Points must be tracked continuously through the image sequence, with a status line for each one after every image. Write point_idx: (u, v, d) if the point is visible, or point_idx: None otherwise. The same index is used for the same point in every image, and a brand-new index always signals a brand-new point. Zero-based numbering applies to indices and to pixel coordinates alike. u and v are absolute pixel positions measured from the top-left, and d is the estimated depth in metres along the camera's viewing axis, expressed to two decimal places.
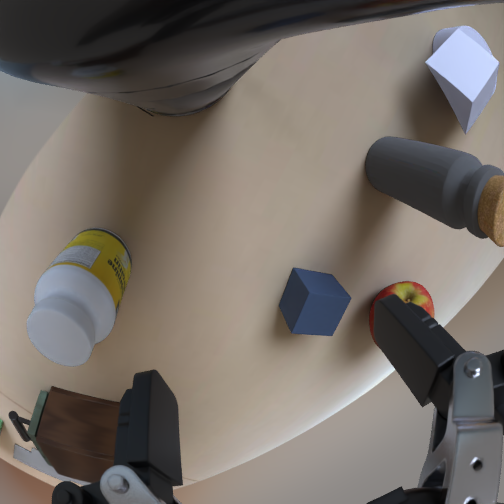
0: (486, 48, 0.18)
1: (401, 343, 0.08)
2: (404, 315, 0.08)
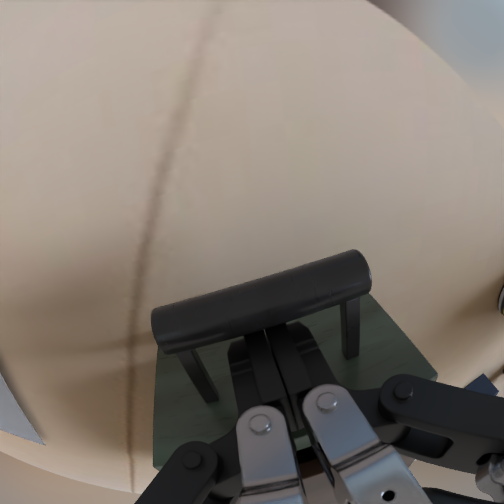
0: None
1: (276, 363, 0.09)
2: (278, 336, 0.09)
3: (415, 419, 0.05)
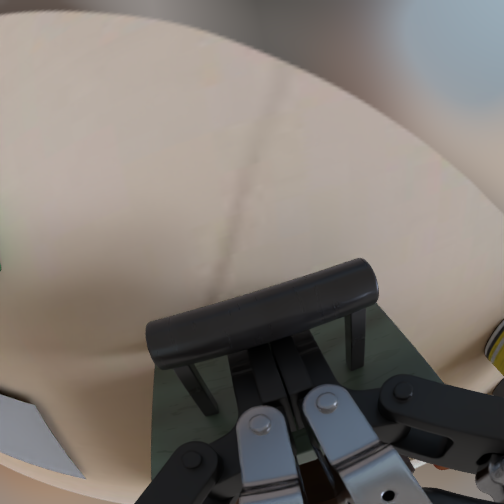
0: None
1: (276, 363, 0.09)
2: None
3: (415, 419, 0.05)
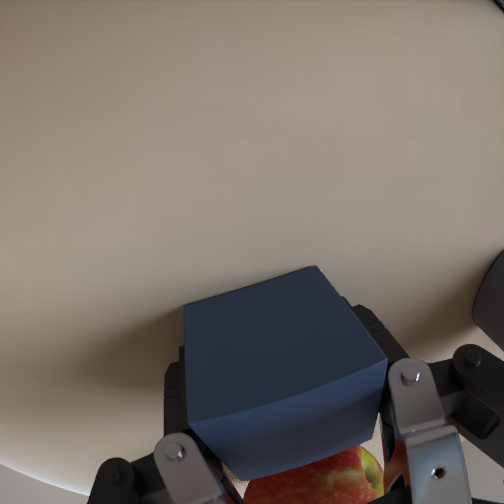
0: None
1: None
2: None
3: (476, 385, 0.05)
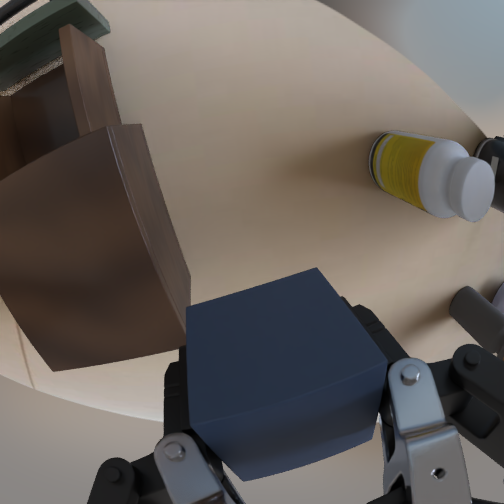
0: None
1: None
2: None
3: (476, 385, 0.05)
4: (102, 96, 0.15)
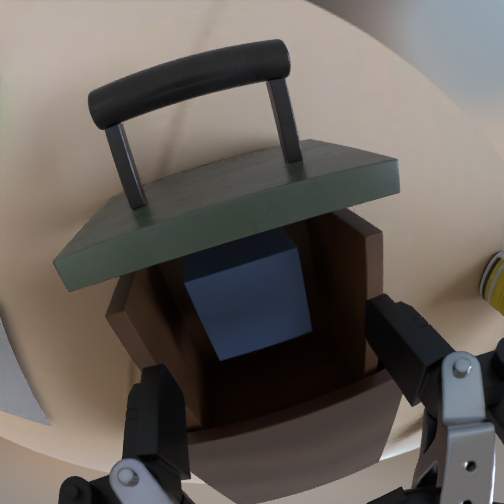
0: None
1: (390, 343, 0.08)
2: (393, 315, 0.08)
3: None
4: None
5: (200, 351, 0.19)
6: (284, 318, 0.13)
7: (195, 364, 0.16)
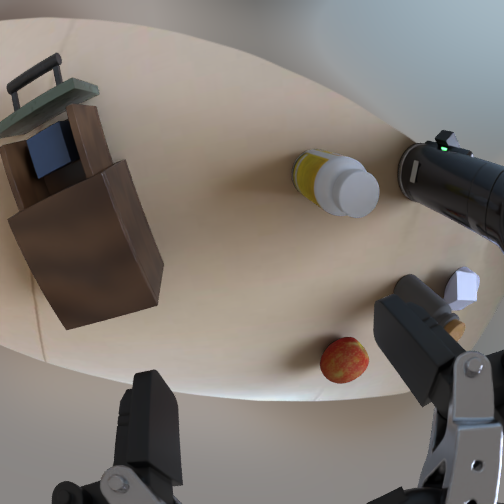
0: None
1: (401, 343, 0.08)
2: (404, 315, 0.08)
3: None
4: (97, 147, 0.26)
5: None
6: (58, 153, 0.23)
7: (41, 198, 0.27)
